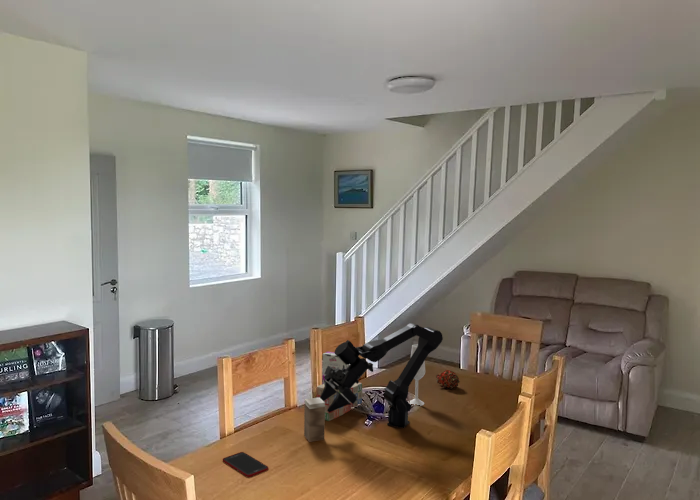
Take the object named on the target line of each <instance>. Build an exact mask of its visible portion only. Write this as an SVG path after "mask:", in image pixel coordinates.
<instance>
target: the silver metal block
mask: <svg viewBox="0 0 700 500" xmlns="http://www.w3.org/2000/svg"><path fill="white" fill-rule="evenodd" d="M303 416H304V417H303V420H304V421H303V422H304V423H303V424H304V425H303V427H304V429H303V436H304V437H305V439H306V440H307V441H308V442H309V443H310V442H316V441H323V440H325V425H326V424H325V422H326V420H325V402H324V401H323V400H322V399H321V398H320V397H318V398H316V397H313V398H312V397H311V398H305V399H304V414H303Z"/></svg>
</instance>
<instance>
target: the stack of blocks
mask: <svg viewBox="0 0 700 500" xmlns="http://www.w3.org/2000/svg"><path fill="white" fill-rule="evenodd" d="M324 387H325V385H324V384H322V383H321V384H319V385H317V386H316V395H315V396H316V397H315V398H318V397H320V396H321V394H322V392H323V389H324ZM334 389H335V388H334ZM335 390H336V389H335ZM350 390H351V391H352V392H353V393H354V394H355V395H356V396H357V401H356V402H355V403H354V404H352V403H351V402H349V403H350V405H346V406H343V407H341V408H338V409H336V410H334V411H331V412H328V411H327V410H328V408H329V406H330V405H331V404H332V402H333V401H334V400H335V398H336V394H337V392H336V393H335V394H333V395H332V396H331V397H329V398H328V399H326V400H325V401H324V402H325V421H327V422H330V421H332V420H334V419H337V418H339V417H340V416H343V415H344V414H347V413H348V412H350V410H351V407H355V406H357V405H358V404H361V403H362V404H363V383H362V382H359V383H358V384H357V383H355V384H354V385H353V386H352V387H351V389H350ZM336 391H338V392H339V393H340V394H341V392H340V391H339V390H336ZM351 411H352V410H351Z"/></svg>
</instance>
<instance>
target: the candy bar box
mask: <svg viewBox="0 0 700 500" xmlns="http://www.w3.org/2000/svg"><path fill="white" fill-rule="evenodd" d="M321 357H322V358H321V360H322V361H321V363H322V364H321V385H322V384H324V380H325V379H324V377H325V375H326V374H324V373H325V371H326V369H327V367H328V366H331V367H333V368H336V369H337V368H338V369H341V370H342V368H345V369H346V368H347V367H348V366H349V365H350V364H348V365H346V364H345V363H344V362H343V361H342V360H341V359H340V358H339V357H338V356H336V355H335V351H333V352H332V351H325V352H324V353H322V355H321ZM325 381H326V380H325Z"/></svg>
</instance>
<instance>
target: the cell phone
mask: <svg viewBox="0 0 700 500" xmlns="http://www.w3.org/2000/svg"><path fill="white" fill-rule="evenodd" d="M222 462H223V463H224V462H225V463H224V464H226V465H227V464H228V466H229V467H231V468H232V469H234V470H235V469H236V471H237V470H238V471H239V472H238V471H237V472H238V473H240V474H241V475H242V476H244V475H245V476H244V477H246V478H251V477H253V476H257V475H259V474H262V473H264V472H267V471H268V470H269V466H268V465H266V464H265V463H263V462H261V460H258V459H256V458H254V457H253V456H251V455H249V454H248V453H247V452H244V451H241V452H236V453H234V454H231V455H229V456H225V457H223V458H222Z"/></svg>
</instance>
